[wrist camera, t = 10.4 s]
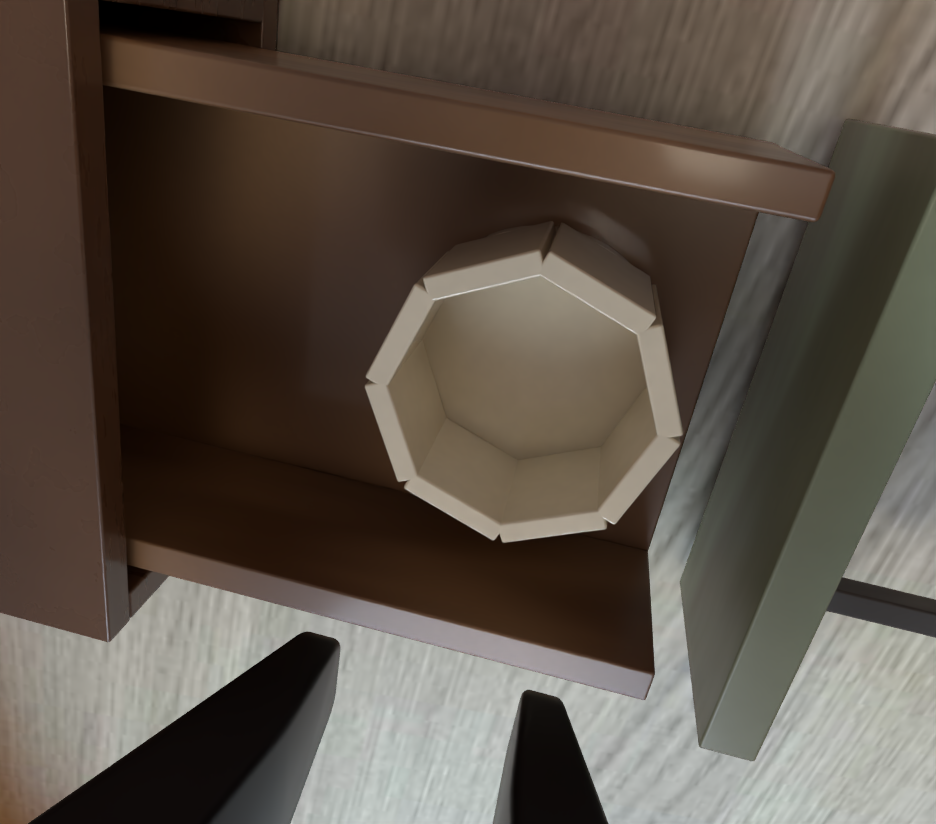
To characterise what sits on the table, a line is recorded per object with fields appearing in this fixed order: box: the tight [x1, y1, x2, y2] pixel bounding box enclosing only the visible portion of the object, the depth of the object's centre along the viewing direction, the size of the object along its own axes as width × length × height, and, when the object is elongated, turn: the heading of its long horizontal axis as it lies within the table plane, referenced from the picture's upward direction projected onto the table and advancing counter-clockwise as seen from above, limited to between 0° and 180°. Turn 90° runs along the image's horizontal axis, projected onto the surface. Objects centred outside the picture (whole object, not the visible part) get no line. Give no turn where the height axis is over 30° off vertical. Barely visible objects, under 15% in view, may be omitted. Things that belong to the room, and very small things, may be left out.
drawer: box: [99, 18, 936, 761], centre depth 16 cm, size 24×12×6 cm, turn 81°
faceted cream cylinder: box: [365, 221, 683, 543], centre depth 16 cm, size 6×6×4 cm
